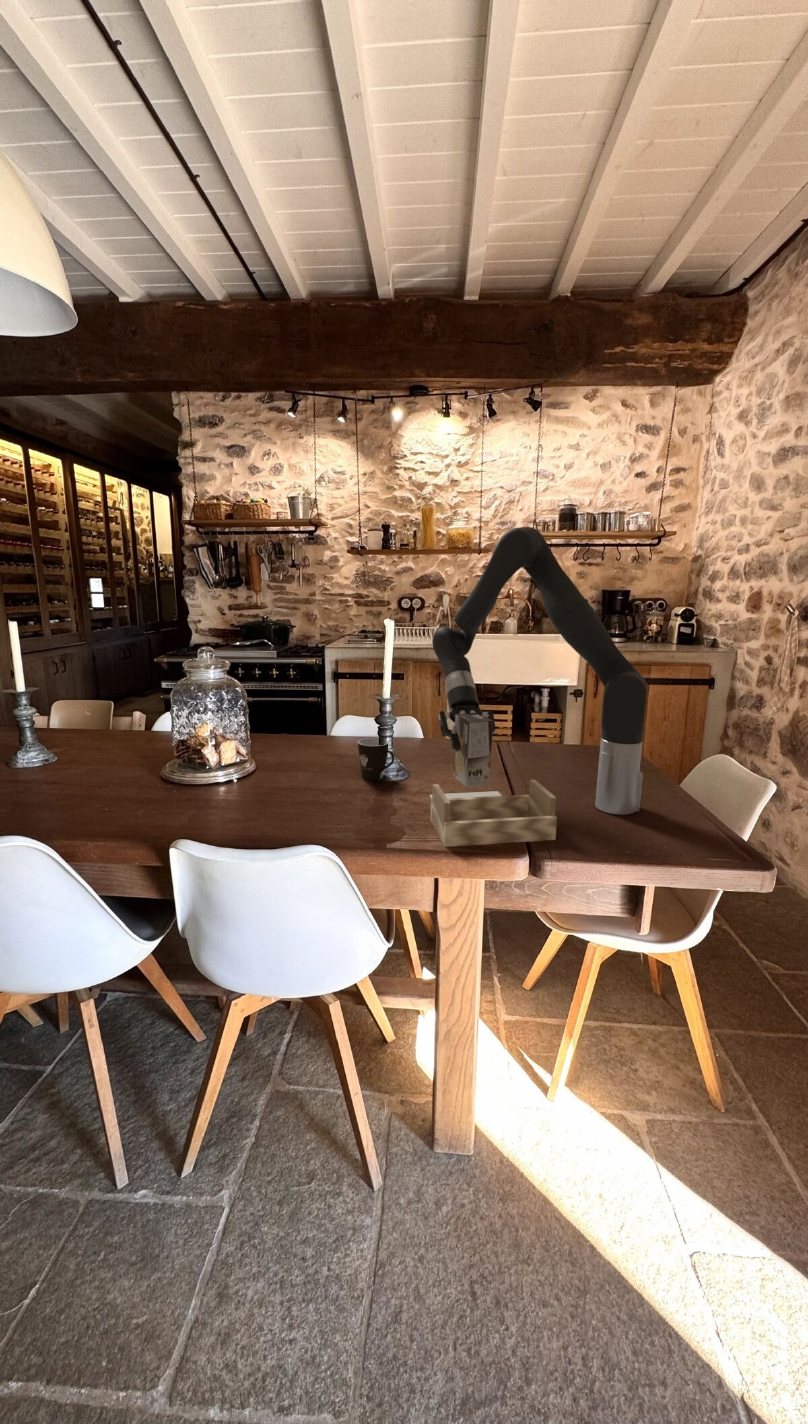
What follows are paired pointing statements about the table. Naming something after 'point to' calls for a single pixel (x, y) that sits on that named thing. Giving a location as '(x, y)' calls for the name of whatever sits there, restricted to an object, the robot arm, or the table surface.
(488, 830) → the wooden crate
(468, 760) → the coffee box
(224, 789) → the table surface
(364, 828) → the table surface
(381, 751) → the coffee mug
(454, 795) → the white mat
